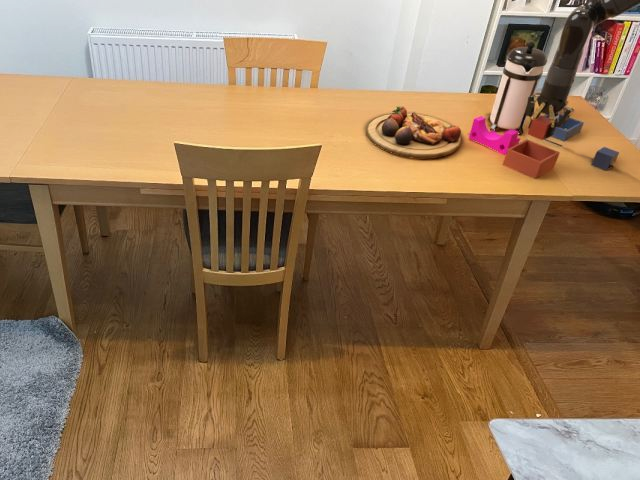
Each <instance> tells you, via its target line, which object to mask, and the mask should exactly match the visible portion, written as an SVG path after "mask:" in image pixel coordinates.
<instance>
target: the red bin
mask: <svg viewBox="0 0 640 480" xmlns="http://www.w3.org/2000/svg"><path fill="white" fill-rule="evenodd" d="M560 154H561V153H560V151H558V150H555V149H553V148H550V147H549V146H545V145H542V144H540V143H538V142H535V141H534V140H533V141H532V140H529V139H527V138H526V139H524V140H522V141H519V144H517V145H515V146H513V147H511V148H509V149H508V150H507V153H506V156H505V155H504V159H503V162H502V166H504V165H505V167H507V168H509V169H511V170H514V171H515V172H518V173H520V174H522V175H525V176H528V177H530V178H532V179H535V180H536V179H538V178H540V177H541V176H542V175H545V174H546V173H548V172H549V171H551V170H552V169H554V168H555V166H556V163H557V161H558V158H559V155H560Z"/></svg>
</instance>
